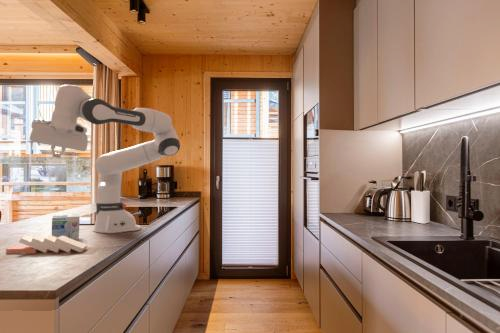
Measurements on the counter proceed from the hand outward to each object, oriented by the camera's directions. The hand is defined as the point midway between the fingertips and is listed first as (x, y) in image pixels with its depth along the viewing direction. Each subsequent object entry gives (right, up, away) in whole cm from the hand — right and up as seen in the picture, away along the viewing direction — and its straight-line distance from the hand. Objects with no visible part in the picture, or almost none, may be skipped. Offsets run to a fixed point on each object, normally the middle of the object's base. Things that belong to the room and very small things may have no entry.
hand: (56, 157), depth 133 cm
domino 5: (+15, -35, -8) cm, 39 cm away
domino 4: (+11, -35, -9) cm, 38 cm away
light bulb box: (-4, -37, +13) cm, 39 cm away
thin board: (+8, -37, -9) cm, 39 cm away
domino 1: (-1, -35, -10) cm, 36 cm away
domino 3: (+7, -35, -9) cm, 37 cm away
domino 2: (+3, -35, -10) cm, 36 cm away
